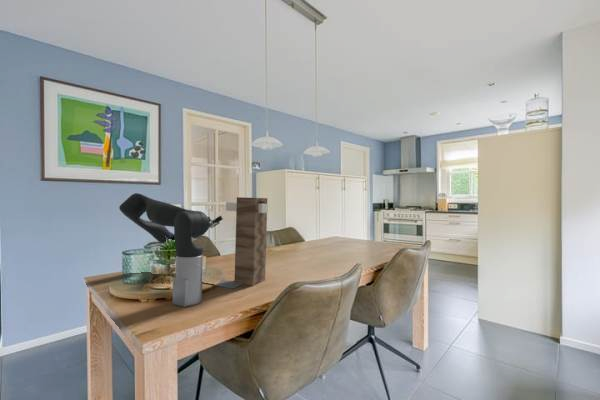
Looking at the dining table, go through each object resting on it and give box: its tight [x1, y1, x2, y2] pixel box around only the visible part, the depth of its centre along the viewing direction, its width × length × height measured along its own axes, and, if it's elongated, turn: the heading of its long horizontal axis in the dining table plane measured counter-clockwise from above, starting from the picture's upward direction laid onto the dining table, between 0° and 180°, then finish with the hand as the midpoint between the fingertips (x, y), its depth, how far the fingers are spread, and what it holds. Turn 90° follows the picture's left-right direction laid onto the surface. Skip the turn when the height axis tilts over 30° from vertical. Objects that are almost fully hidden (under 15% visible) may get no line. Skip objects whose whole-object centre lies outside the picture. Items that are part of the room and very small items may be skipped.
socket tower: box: [234, 196, 268, 287], centre depth 128 cm, size 10×10×38 cm
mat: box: [214, 279, 243, 290], centre depth 126 cm, size 7×25×1 cm, turn 66°
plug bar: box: [225, 201, 269, 214], centre depth 130 cm, size 4×22×4 cm, turn 59°
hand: (215, 217), depth 137 cm, fingers open, 8 cm apart
